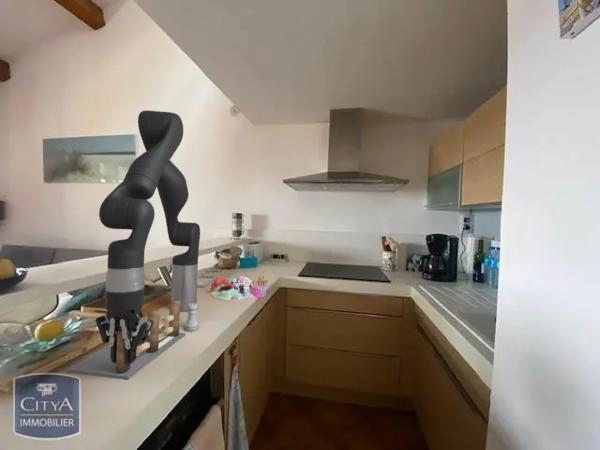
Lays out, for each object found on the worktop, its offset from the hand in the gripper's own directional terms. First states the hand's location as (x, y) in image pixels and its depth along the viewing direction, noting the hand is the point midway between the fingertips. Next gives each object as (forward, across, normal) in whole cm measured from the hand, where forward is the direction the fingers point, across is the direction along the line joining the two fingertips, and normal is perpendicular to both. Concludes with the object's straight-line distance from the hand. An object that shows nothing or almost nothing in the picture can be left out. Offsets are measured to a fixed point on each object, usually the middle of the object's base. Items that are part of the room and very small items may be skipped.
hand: (123, 361), depth 65 cm
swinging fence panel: (+2, 0, -3) cm, 4 cm away
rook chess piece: (+3, 0, -27) cm, 27 cm away
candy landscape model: (+3, +2, -71) cm, 71 cm away
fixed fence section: (+2, +1, -15) cm, 15 cm away
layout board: (+3, +5, -10) cm, 11 cm away
